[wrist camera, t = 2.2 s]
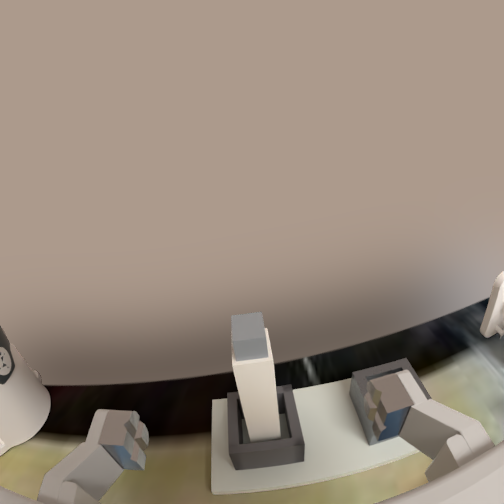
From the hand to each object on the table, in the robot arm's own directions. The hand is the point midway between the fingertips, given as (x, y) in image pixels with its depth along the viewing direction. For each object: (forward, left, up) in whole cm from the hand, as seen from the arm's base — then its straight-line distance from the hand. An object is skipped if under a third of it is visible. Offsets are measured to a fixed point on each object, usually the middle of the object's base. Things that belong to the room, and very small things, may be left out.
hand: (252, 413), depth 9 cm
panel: (+7, +12, -22) cm, 26 cm away
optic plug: (0, +12, -21) cm, 24 cm away
